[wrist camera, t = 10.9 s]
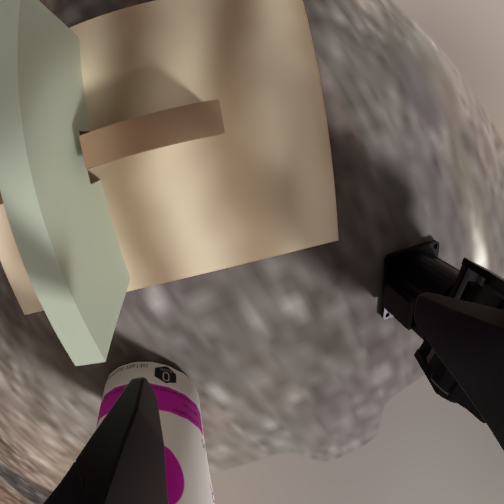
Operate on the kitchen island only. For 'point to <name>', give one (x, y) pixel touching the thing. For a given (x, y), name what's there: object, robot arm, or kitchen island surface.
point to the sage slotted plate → (56, 182)
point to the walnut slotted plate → (151, 132)
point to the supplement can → (171, 427)
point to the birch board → (210, 148)
